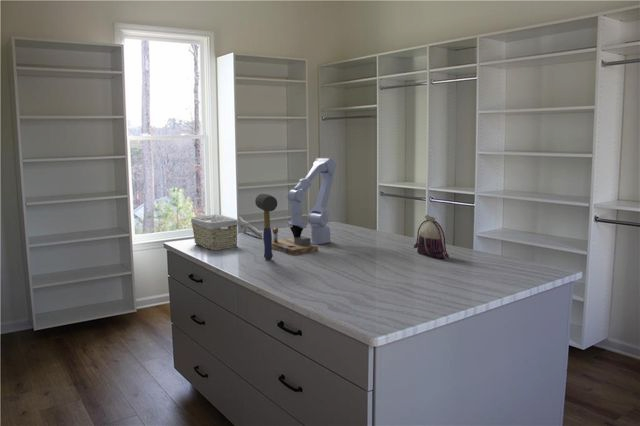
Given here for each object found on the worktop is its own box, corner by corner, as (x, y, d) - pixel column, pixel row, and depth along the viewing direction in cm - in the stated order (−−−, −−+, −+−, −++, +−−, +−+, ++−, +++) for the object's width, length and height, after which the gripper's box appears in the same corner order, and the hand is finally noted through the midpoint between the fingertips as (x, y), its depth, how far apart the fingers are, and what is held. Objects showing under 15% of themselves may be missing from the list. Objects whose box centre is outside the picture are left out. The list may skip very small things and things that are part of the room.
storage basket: (240, 247, 282) (239, 218, 280) (211, 251, 272) (209, 222, 270) (219, 240, 301) (217, 213, 299) (191, 244, 291) (189, 217, 289)
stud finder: (302, 242, 277) (302, 235, 276) (310, 244, 271) (310, 237, 271) (294, 243, 274) (294, 237, 274) (302, 245, 268) (301, 239, 268)
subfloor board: (290, 242, 289) (290, 238, 288) (319, 250, 268) (318, 245, 267) (264, 246, 280) (264, 242, 280) (292, 255, 259) (292, 250, 259)
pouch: (405, 252, 259) (405, 212, 256) (418, 250, 264) (418, 210, 261) (444, 262, 238) (445, 218, 236) (458, 259, 243) (458, 216, 240)
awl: (276, 241, 281) (276, 227, 280) (279, 242, 279) (279, 228, 278) (271, 242, 279) (271, 228, 278) (274, 242, 277) (274, 229, 276)
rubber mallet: (280, 261, 248) (278, 194, 243) (264, 263, 245) (262, 196, 240) (271, 256, 259) (269, 192, 255) (256, 257, 256) (253, 193, 252)
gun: (240, 228, 328) (241, 216, 326) (262, 245, 304) (263, 232, 301) (237, 229, 327) (238, 216, 325) (259, 246, 303) (259, 232, 300)
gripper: (281, 213, 278) (282, 239, 280) (297, 216, 266) (298, 244, 268) (293, 211, 282) (294, 237, 284) (309, 214, 270) (310, 242, 272)
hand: (297, 240), depth 276 cm, fingers closed
